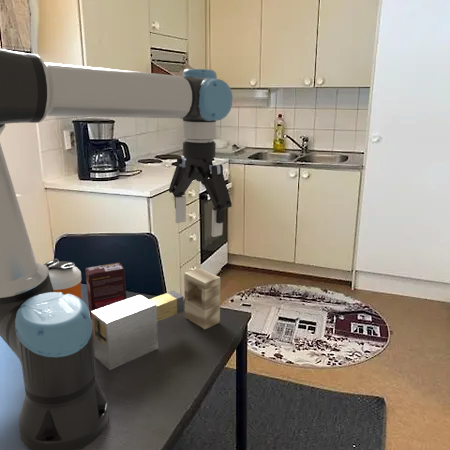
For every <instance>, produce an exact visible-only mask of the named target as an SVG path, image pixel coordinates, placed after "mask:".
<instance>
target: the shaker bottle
mask: <svg viewBox="0 0 450 450" xmlns="http://www.w3.org/2000/svg"><path fill="white" fill-rule="evenodd" d="M42 265H43V266H45V267H46V268H47V270H48V273H49V276H50V280H51V283H52V286H53V290H54V292H62V293H63V295H65V294H72V295H75V296H77V297H79V298H80V299H81V300H82V288H81V287H82V285H81V283H82V272H81V270H80V269H79V268H78V267H77V266H76V264H75V263H74V262H73V261H59V259H58V258H53V259H50V260H49V261H47V262H46V263H43V264H42Z"/></svg>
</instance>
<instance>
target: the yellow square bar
mask: <svg viewBox="0 0 450 450" xmlns="http://www.w3.org/2000/svg"><path fill="white" fill-rule="evenodd" d="M148 300H150V301H152V302H153V303H155V304H157V323H158V322H161V321H163V320H166V319H169V318H171V317H173V316H175V315H178V314H181V313H183V312H185V295H184V296H183V295H182V294H180V293H179V292H177V291H175V290H172V291H168V292H166V293H163V294H160V295H157V296H154V297H152V298H149V299H148ZM99 325H100V334H101V335H102V336H103V337H105V338H106V331H105V325H104V324H103V323H102V322H100V321H99Z"/></svg>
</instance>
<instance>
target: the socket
mask: <svg viewBox="0 0 450 450" xmlns="http://www.w3.org/2000/svg"><path fill="white" fill-rule="evenodd" d="M183 275H184V278H183V279H184V282H183V283H184V318H185V319H186V320H188V319H189V320H188V321H190V322H192V323H193V324H195V325H197V326H198V327H200V328H202V329H203V330H206V329H210V328H211V327H213V326H216V325H218V324H220V323H221V322H220V321H221V277H220V276H218V275H216V274H213V273H212V272H209V271H207V270H205V269H203V268H201V267H198V268H194V269H192V270H190V271H186V272H184V274H183Z"/></svg>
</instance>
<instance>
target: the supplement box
mask: <svg viewBox="0 0 450 450" xmlns="http://www.w3.org/2000/svg"><path fill="white" fill-rule="evenodd" d="M125 275H126V273H125V268H124V266H123V265H122V264H121V263H120V262H119V261H118V262H112V263H108V264H103V265H96V266H90V267H85V279H86V290H87V300H88V301H87V303H88V309H89V313H90V317H91V320H92V314H91V311H94V310H97V309H100V308H103V307H106V306H108V305H111V304H114V303H117V302H120V301H123V300H126V299H127V289H126V276H125ZM92 330H93V326H92Z"/></svg>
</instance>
